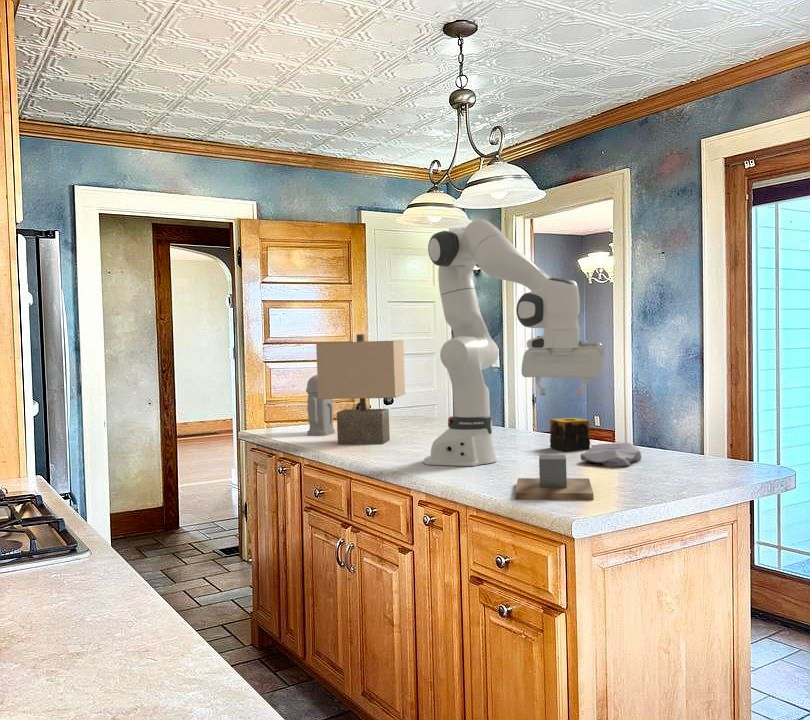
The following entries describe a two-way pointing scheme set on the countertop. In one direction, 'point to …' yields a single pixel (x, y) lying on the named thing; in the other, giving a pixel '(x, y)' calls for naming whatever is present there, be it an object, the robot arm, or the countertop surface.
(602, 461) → the stone
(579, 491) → the brown square plate
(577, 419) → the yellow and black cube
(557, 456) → the grey block with cylinder
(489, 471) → the countertop surface
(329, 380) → the lamp
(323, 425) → the grey tall figure
